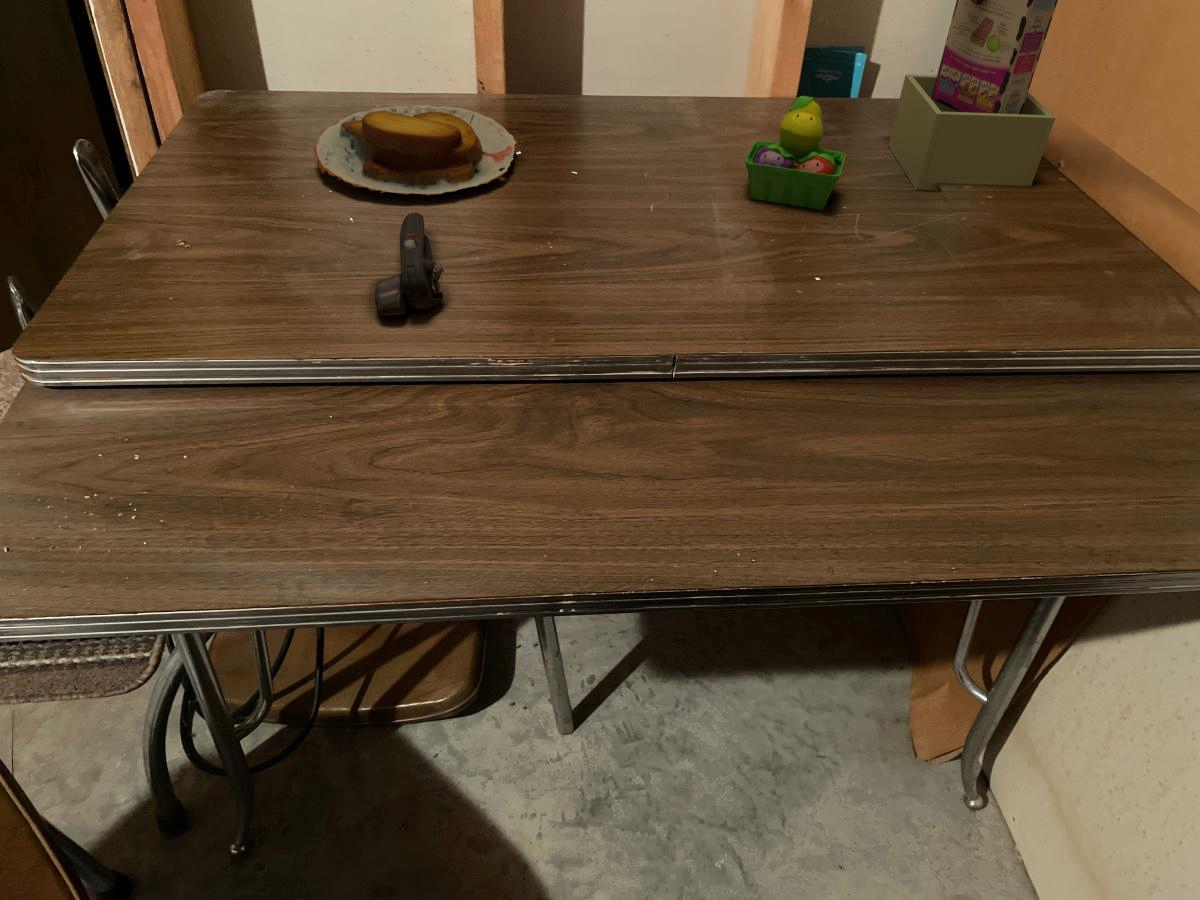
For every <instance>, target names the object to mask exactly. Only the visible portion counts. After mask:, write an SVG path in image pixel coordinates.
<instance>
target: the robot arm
mask: <svg viewBox="0 0 1200 900" xmlns="http://www.w3.org/2000/svg"><path fill="white" fill-rule="evenodd" d="M971 2H972V3H973V4H974V5H981V4H982V2H983V0H971Z"/></svg>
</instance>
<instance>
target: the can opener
mask: <svg viewBox="0 0 1200 900" xmlns="http://www.w3.org/2000/svg"><path fill="white" fill-rule="evenodd" d="M399 253H400V254H399V255H400V256H399V257H400V272H401V273H396V274H394V275H391V276H388V277H386V278H383V279H381V280H378V282H377V284H376V286H375V289H374V303H375V306H376V308H377V311H378V312H379V314H380V315H381V316H390V315H392V316H393V315H404V314H406V313H407V311H408V309H409V304H410V306H411V307H412V308H414V309H417V310H425V309H428V308H431V307H433V306H435V305H437V304H439V303H440V302H441V301H443V299H444V298H445V297H444V296H445V295H444V293H443V292H442V291H441V285H440V281H439V280H440V278H441V277H442V275H443V273H444V272H445V271H446V269H445V268H443V261H442V260H440V261H439V263H438V262H437V259H434V260H432V246H431V242H430V238H429V237H428V235H426V234H425V219H424V215H423V214H420V213H418V212H411V213H409V214H407V215H406V216H405V218H404V219H403V221H402V223H401V226H400V232H399Z"/></svg>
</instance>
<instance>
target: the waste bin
mask: <svg viewBox="0 0 1200 900" xmlns="http://www.w3.org/2000/svg"><path fill="white" fill-rule="evenodd" d="M936 78H937V75H935V74H907V73H906V74H905V75H904V79H903V83H902V87H901V92H900V95H899V99H898V100H899V101H898V104H897V108H896V112H895V117H894V119H893V120H894V121H893V124H892V128H891V132H890V137H889V141H888V145H887V147H888V149H889V150H890V152H891V153H892V155H893V156H894V158H895V159H896V161H897V162H898V164H899V166H900V167H901V169H902V170H903V172H904V173H905V175H906V176H907V179H908V180H909V181H910V183H911V184H912V186H913V188H914V190H915V191H931V192H932V191H934V192H943V190H942V188H941V186H940V185H939V184H956V185H957V184H959V185H985V186H987V185H989V186H1014V187H1015V186H1017V187H1032V185H1033V182H1034V179H1035V177H1036V174H1037V171H1038V169H1039V165H1040V163H1041V159H1042V157H1043V155H1044V151H1045V148H1046V146H1047V143H1048V140H1049V136H1050V134H1051V131H1052V129H1053V127H1054V124H1055V121H1056V116H1054V115H1053V114H1052V113H1051V112H1050V111H1049V110H1048V109H1047V108H1046V107H1045V106H1044V105H1042V104H1041V103H1040V102H1039V100H1037V99H1036V98H1035V97H1034V96H1033V95H1032V94H1031V93H1030V92H1028V94H1027V97H1026V100H1025V103H1024V106H1023V110H1022V113H1021V114H996V113H968V112H958V111H956V110H954V109H952V108H949V107H947V106H945V105H943V104H940V103H938V102H936V101H934V100H932V99H931V97H932V93H933V89H934V86H935V82H936Z"/></svg>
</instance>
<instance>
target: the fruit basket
mask: <svg viewBox="0 0 1200 900" xmlns="http://www.w3.org/2000/svg"><path fill="white" fill-rule="evenodd" d="M788 110H789V111H788V113H787V114H786V115H785V116H784V117H782V119H781V121H780V123H779V129H780V130H779V139H780V142H775V141H766V140H757V141H755V142H753V144H752V146H751V148H750V149H749V152H748V153H747V155H746V157H745V159H744V161H745V168H746V169H747V177H748V178H747V179H748V186H749V187H748V188H749V195H750V199H751V200H756V201H765V202H766V201H767V202H769V203H774V204H781V205H782V204H783V205H785V204H787V205H789V206H794V207H800V208H808V209H811V210H819V211H823V210H824V208H825V207H826V204H827V202H828V200H829V198H830V197H831V193H832V191H833V189H834V187H835V185H836V183H837V182H838V181H839V179H840V177H841V176H842V170H843V166H844V163H845V160H846V159H847V155H846V153H844V152H842V151H837V150H831V149H830V150H829V149H824V148H819V145H820V144H819V143H820V142H821V141H822V138H823V136H824V124H823V120H822V117H823V112H822V111H823V110H822V108H821V106H820V104H819V103H818V102H816V101H815V97H814V96H808V95H800V96H798V97H797V98H796V99H794V102H793V104H792V106H791V107H789V108H788Z"/></svg>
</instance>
